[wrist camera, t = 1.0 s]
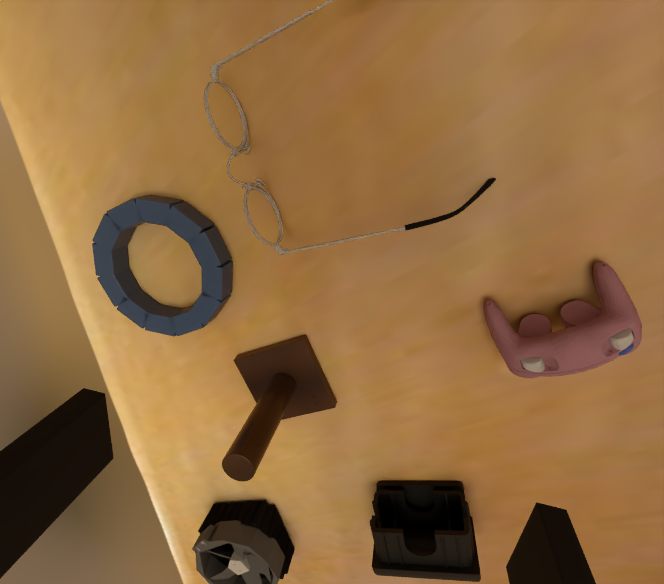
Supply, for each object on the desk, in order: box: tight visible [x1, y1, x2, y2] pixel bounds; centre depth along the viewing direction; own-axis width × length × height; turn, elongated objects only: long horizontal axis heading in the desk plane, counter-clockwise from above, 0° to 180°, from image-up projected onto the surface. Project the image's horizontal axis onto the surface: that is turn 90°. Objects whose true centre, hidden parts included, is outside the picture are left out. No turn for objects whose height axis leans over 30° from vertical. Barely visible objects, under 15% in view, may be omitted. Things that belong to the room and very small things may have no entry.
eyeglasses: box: [204, 0, 496, 255], centre depth 28 cm, size 16×19×5 cm
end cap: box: [370, 481, 481, 582], centre depth 39 cm, size 10×7×7 cm
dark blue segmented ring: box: [92, 195, 233, 336], centre depth 37 cm, size 13×13×2 cm
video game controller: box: [484, 261, 642, 378], centre depth 30 cm, size 10×5×7 cm, turn 117°
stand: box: [222, 335, 337, 481], centre depth 34 cm, size 8×8×12 cm
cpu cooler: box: [192, 500, 294, 584], centre depth 47 cm, size 10×6×10 cm
